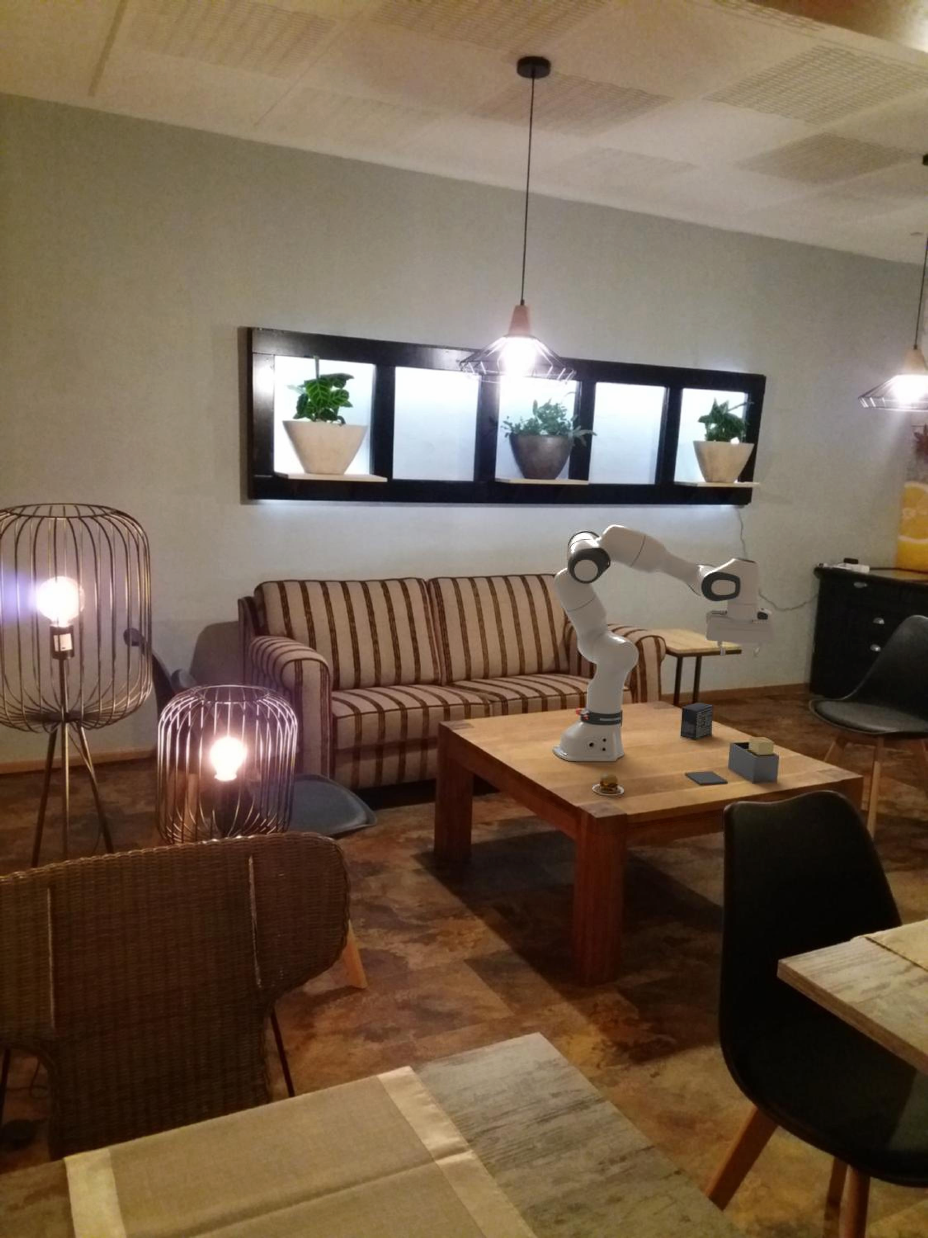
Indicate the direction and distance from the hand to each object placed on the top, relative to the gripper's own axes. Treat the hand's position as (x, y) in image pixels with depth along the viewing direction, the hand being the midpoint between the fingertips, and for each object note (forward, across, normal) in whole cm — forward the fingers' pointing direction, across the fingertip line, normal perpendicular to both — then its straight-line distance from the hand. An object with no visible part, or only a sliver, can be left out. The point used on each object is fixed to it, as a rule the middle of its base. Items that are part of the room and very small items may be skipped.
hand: (739, 656), depth 287 cm
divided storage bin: (+35, +6, -6) cm, 36 cm away
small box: (+35, -12, +30) cm, 47 cm away
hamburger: (+34, -34, -36) cm, 60 cm away
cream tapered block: (+31, +8, -9) cm, 33 cm away
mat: (+34, -7, -15) cm, 38 cm away
